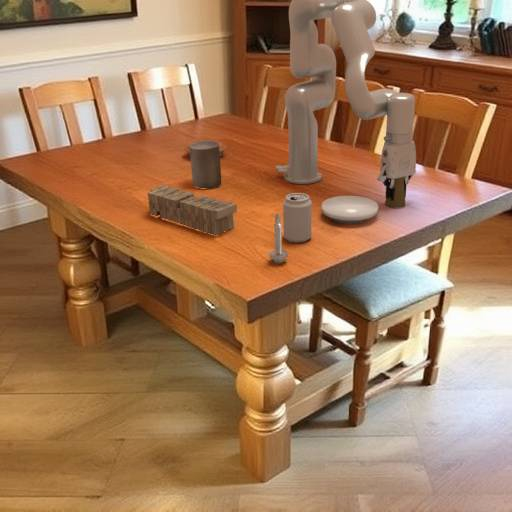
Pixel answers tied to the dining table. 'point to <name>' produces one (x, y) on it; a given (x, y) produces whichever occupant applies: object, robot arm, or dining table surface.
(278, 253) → the screw
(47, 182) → the dining table surface
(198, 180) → the pillar candle
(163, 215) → the block tower
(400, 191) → the cork
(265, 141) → the dining table surface
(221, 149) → the pie
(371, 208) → the grey plate
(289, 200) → the can
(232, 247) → the dining table surface
